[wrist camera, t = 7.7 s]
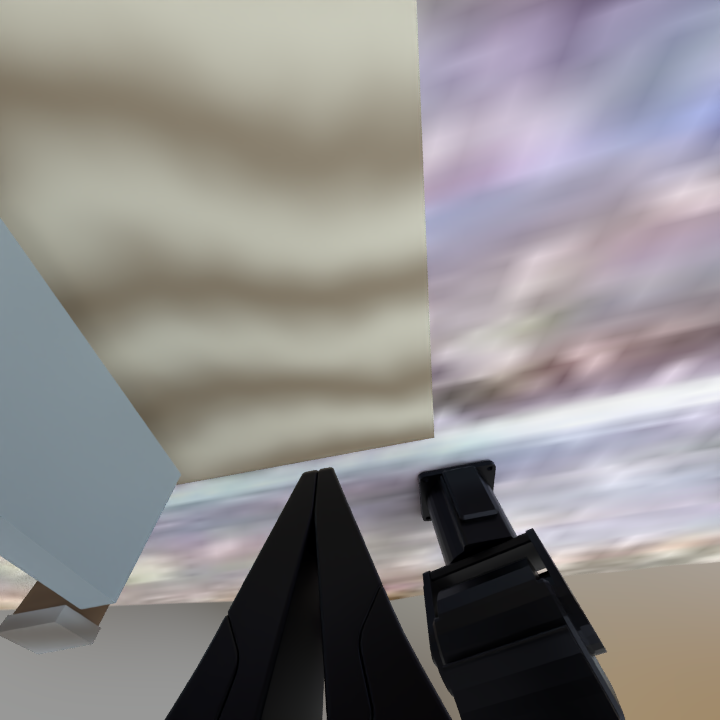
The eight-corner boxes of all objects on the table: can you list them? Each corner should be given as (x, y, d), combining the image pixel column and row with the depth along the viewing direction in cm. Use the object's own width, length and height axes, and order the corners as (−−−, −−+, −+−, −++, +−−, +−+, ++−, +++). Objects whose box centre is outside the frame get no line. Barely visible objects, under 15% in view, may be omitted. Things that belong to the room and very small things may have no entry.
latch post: (177, 479, 22) (92, 644, 14) (141, 486, 22) (37, 654, 14) (159, 455, 20) (55, 621, 13) (122, 462, 20) (-6, 633, 13)
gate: (-122, 127, 10) (-790, 39, 4) (-64, 117, 10) (-643, 14, 4) (154, 479, 20) (76, 610, 13) (184, 473, 20) (119, 602, 13)
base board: (430, 428, 23) (434, 437, 22) (123, 484, 23) (114, 496, 22) (401, -155, 10) (408, -188, 9) (-324, -23, 10) (-387, -43, 9)
